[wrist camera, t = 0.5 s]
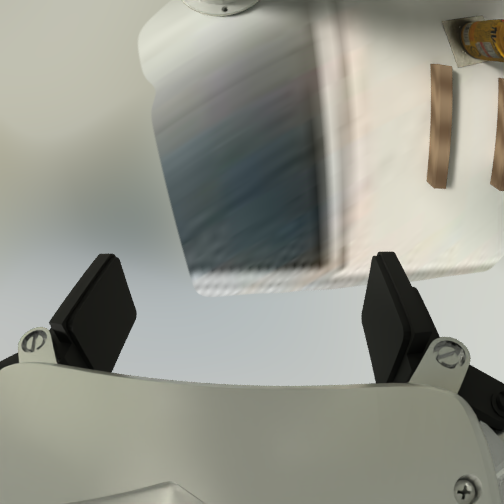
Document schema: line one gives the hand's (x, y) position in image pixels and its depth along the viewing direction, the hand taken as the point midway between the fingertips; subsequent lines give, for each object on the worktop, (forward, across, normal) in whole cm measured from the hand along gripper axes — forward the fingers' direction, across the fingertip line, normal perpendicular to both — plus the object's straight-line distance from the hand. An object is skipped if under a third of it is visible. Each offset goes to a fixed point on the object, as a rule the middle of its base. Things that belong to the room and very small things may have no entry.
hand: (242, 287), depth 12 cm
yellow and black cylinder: (+36, -30, -15) cm, 49 cm away
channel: (+35, -31, -1) cm, 47 cm away
